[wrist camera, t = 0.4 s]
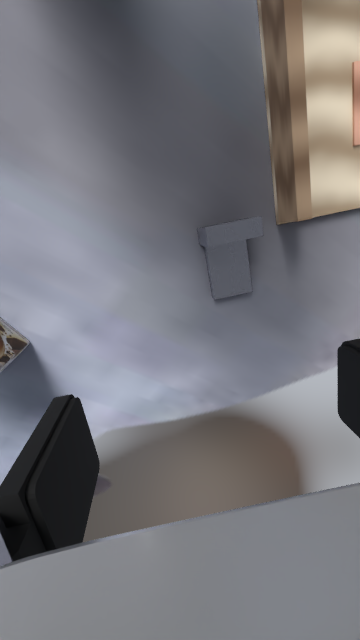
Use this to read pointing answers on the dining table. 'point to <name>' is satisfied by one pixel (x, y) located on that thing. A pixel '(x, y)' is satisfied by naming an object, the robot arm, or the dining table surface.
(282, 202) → the corner arena
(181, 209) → the dining table surface
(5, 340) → the coffee box
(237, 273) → the gray t-shaped block
